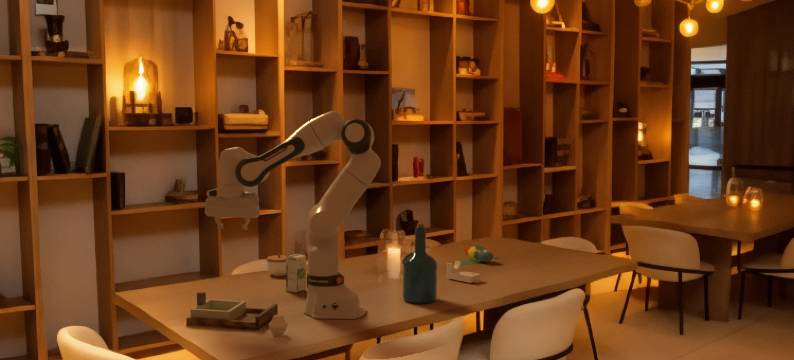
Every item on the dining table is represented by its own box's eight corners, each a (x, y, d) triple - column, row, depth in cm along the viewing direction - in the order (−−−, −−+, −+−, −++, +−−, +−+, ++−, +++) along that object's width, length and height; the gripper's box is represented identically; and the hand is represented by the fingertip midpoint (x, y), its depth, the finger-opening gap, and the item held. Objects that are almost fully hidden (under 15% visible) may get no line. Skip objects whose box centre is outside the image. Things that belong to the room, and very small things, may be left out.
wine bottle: (428, 294, 290) (429, 220, 287) (442, 303, 277) (443, 225, 275) (396, 297, 285) (397, 221, 282) (409, 306, 273) (409, 226, 270)
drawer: (245, 312, 258) (245, 290, 257) (229, 323, 244) (228, 300, 244) (206, 309, 261) (206, 287, 260) (188, 320, 247) (187, 297, 247)
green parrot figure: (487, 240, 368) (510, 245, 357) (486, 256, 369) (509, 262, 358) (447, 246, 351) (469, 251, 339) (446, 263, 351) (468, 269, 340)
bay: (277, 316, 258) (277, 303, 257) (258, 330, 241) (258, 317, 240) (209, 311, 263) (209, 299, 262) (186, 325, 246) (186, 312, 245)
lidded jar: (287, 277, 317) (287, 256, 316) (263, 276, 319) (263, 255, 318) (294, 272, 327) (294, 252, 327) (271, 271, 329) (271, 251, 328)
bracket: (446, 280, 317) (446, 263, 316) (456, 277, 322) (456, 260, 321) (470, 285, 308) (470, 267, 307) (480, 282, 313) (480, 264, 312)
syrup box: (294, 288, 298) (294, 253, 297) (306, 290, 295) (306, 255, 294) (285, 291, 293) (285, 255, 292) (297, 293, 290) (297, 257, 289)
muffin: (291, 335, 236) (291, 314, 235) (276, 339, 231) (276, 318, 231) (279, 331, 240) (279, 310, 240) (264, 335, 236) (264, 314, 235)
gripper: (262, 191, 266) (262, 229, 267) (210, 189, 270) (210, 226, 271) (255, 193, 259) (255, 231, 261) (202, 191, 264) (203, 229, 265)
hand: (232, 229), depth 266 cm, fingers open, 8 cm apart
